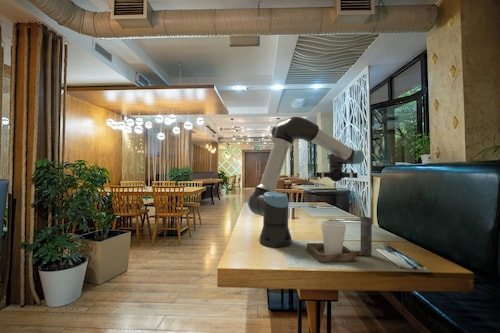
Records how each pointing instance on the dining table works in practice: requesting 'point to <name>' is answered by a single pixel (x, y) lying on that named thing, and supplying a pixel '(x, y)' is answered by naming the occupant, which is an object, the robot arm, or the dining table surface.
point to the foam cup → (333, 236)
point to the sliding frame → (346, 253)
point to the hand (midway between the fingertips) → (336, 175)
